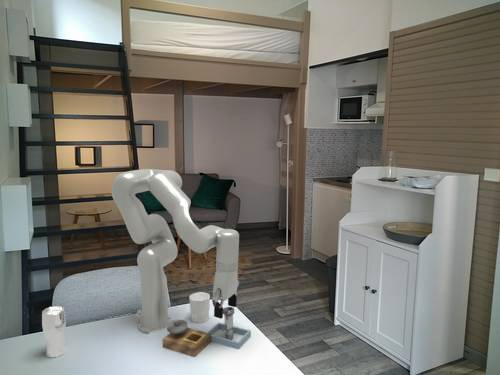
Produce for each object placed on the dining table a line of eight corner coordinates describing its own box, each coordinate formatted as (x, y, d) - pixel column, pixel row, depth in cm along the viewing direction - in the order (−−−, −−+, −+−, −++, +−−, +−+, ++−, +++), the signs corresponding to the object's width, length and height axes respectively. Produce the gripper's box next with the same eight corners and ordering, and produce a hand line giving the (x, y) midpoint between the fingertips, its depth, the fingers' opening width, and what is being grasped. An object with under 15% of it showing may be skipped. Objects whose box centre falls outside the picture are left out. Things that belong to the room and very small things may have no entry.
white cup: (206, 326, 148) (206, 301, 146) (187, 324, 149) (186, 299, 148) (212, 316, 156) (212, 293, 154) (193, 315, 157) (193, 291, 156)
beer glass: (72, 348, 132) (69, 307, 130) (56, 360, 126) (53, 316, 124) (56, 345, 135) (53, 304, 133) (39, 356, 128) (36, 313, 126)
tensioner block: (160, 349, 132) (159, 327, 131) (178, 335, 141) (177, 314, 140) (194, 359, 126) (194, 337, 125) (211, 344, 135) (210, 323, 134)
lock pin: (221, 340, 137) (220, 311, 135) (227, 335, 140) (226, 306, 139) (231, 343, 135) (230, 313, 133) (236, 337, 139) (236, 308, 137)
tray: (204, 342, 137) (204, 334, 136) (218, 330, 145) (218, 322, 145) (238, 351, 131) (238, 343, 131) (250, 338, 139) (250, 330, 139)
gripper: (229, 256, 143) (228, 299, 146) (204, 271, 128) (203, 319, 131) (247, 260, 140) (245, 304, 143) (224, 275, 125) (222, 325, 128)
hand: (225, 311), depth 137 cm, fingers open, 9 cm apart
